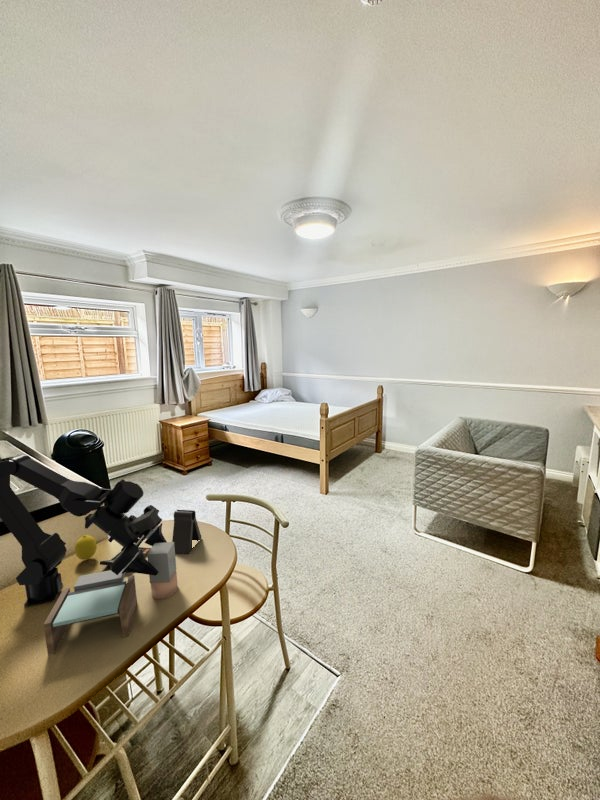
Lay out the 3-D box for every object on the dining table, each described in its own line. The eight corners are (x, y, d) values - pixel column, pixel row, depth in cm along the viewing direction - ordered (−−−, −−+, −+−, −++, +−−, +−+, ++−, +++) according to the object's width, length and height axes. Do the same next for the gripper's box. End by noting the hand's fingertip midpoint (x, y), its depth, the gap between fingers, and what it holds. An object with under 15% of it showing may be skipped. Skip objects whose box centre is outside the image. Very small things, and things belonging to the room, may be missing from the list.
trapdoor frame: (48, 655, 70) (43, 624, 69) (67, 616, 80) (63, 588, 79) (128, 636, 74) (125, 606, 73) (137, 601, 84) (134, 575, 83)
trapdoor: (53, 628, 69) (52, 618, 69) (76, 585, 82) (74, 576, 82) (117, 614, 73) (116, 604, 72) (129, 575, 86) (128, 566, 85)
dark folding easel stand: (189, 554, 104) (186, 518, 102) (171, 553, 105) (168, 517, 103) (201, 538, 112) (199, 504, 111) (185, 537, 113) (182, 504, 112)
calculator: (153, 550, 107) (152, 542, 106) (129, 574, 95) (128, 565, 95) (127, 548, 108) (126, 539, 108) (100, 571, 97) (99, 562, 97)
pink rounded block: (150, 601, 84) (148, 587, 84) (153, 584, 90) (151, 571, 90) (177, 595, 86) (175, 581, 85) (178, 579, 92) (177, 566, 92)
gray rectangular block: (150, 583, 85) (147, 554, 84) (157, 570, 90) (155, 542, 89) (169, 582, 85) (167, 553, 84) (176, 569, 90) (174, 542, 89)
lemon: (84, 554, 105) (81, 530, 104) (101, 554, 105) (99, 530, 104) (72, 565, 100) (68, 540, 98) (90, 565, 99) (87, 540, 98)
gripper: (118, 520, 75) (172, 563, 77) (151, 487, 94) (194, 522, 96) (87, 554, 76) (140, 596, 78) (126, 515, 95) (169, 549, 97)
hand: (164, 562), depth 87 cm, fingers open, 9 cm apart
